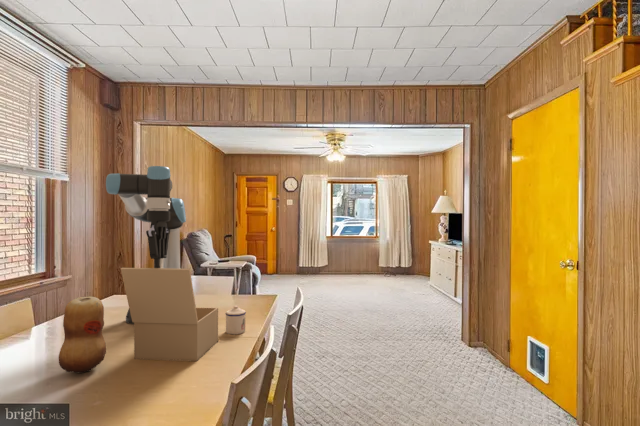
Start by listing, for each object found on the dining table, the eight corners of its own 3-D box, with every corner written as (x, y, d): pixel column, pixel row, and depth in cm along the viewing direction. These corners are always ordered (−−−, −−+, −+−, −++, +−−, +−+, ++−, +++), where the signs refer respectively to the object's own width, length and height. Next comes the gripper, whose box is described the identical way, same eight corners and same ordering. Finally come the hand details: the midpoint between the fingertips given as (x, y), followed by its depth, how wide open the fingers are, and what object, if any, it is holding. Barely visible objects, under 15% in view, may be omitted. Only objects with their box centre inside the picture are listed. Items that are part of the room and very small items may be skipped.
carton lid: (133, 321, 142) (132, 322, 141) (121, 267, 135) (120, 268, 134) (198, 322, 140) (197, 324, 139) (189, 268, 133) (188, 269, 132)
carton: (134, 359, 142) (134, 321, 142) (163, 339, 164) (163, 306, 164) (197, 361, 140) (197, 322, 140) (218, 341, 162) (218, 307, 162)
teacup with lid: (245, 334, 172) (245, 308, 172) (224, 335, 170) (224, 308, 170) (245, 326, 183) (245, 301, 184) (226, 327, 182) (226, 302, 182)
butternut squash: (71, 383, 121) (71, 304, 122) (51, 374, 129) (51, 299, 129) (114, 368, 133) (114, 296, 133) (93, 360, 140) (94, 292, 140)
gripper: (159, 209, 129) (159, 280, 129) (177, 210, 142) (177, 274, 142) (138, 210, 130) (138, 279, 130) (157, 210, 143) (157, 274, 143)
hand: (158, 276), depth 136 cm, fingers closed
